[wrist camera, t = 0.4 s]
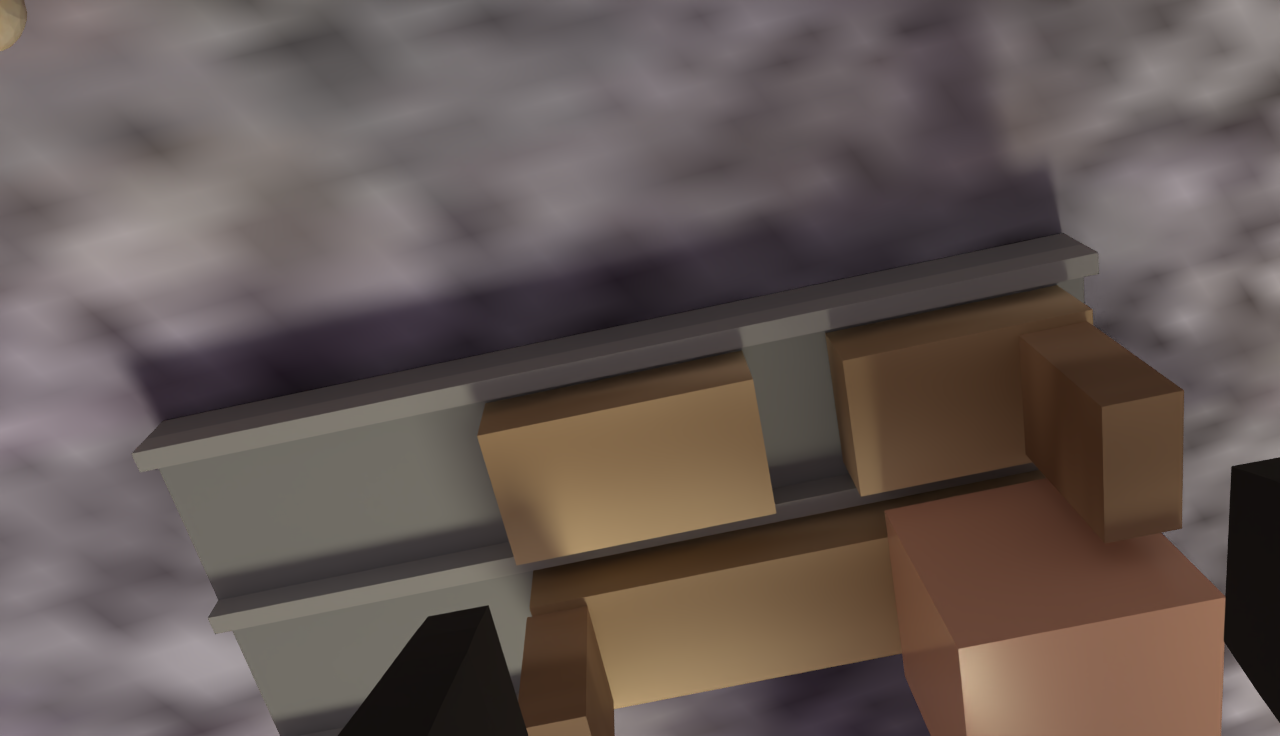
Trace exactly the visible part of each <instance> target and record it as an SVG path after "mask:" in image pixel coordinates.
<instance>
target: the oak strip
mask: <svg viewBox="0 0 1280 736" xmlns="http://www.w3.org/2000/svg"><path fill="white" fill-rule="evenodd" d="M1045 478H1046V477H1045V476H1044V474H1043V473H1042V472H1041V471H1040V470H1035V471H1030V472H1025V473H1020V474H1015V475H1010V476H1005V477H1000V478H995V479H990V480H985V481H980V482H975V483H970V484H965V485H960V486H955V487H950V488H945V489H940V490H935V491H930V492H925V493H920V494H915V495H910V496H905V497H900V498H894V499H889V500H884V501H879V502H874V503H869V504H864V505H859V506H854V507H849V508H844V509H839V510H834V511H829V512H824V513H819V514H814V515H809V516H804V517H799V518H794V519H789V520H784V521H779V522H774V523H769V524H764V525H759V526H754V527H749V528H744V529H739V530H734V531H729V532H724V533H719V534H714V535H709V536H704V537H699V538H694V539H689V540H684V541H679V542H674V543H669V544H664V545H659V546H654V547H649V548H644V549H639V550H634V551H629V552H624V553H619V554H614V555H609V556H604V557H599V558H594V559H589V560H584V561H579V562H574V563H569V564H564V565H559V566H554V567H549V568H544V569H539V570H534V571H533V579H532V588H531V598H530V612H531V615H532V617H527V622H526V631H525V641H524V650H523V659H522V669H521V678H520V688H519V697H518V703H519V706H520V709H521V713H522V716H523V719H524V723H525V726H526V729H527V732H528V736H615V735H614V709H617V708H622V707H627V706H632V705H638V704H643V703H648V702H653V701H658V700H663V699H669V698H674V697H679V696H684V695H689V694H694V693H700V692H705V691H710V690H715V689H720V688H725V687H731V686H736V685H741V684H746V683H751V682H757V681H762V680H767V679H772V678H777V677H782V676H788V675H793V674H798V673H803V672H808V671H813V670H819V669H824V668H829V667H834V666H839V665H844V664H850V663H855V662H860V661H865V660H870V659H876V658H881V657H886V656H891V655H896V654H901V653H902V648H901V640H900V632H899V624H898V616H897V608H896V600H895V592H894V584H893V576H892V568H891V560H890V552H889V544H888V536H887V528H886V520H885V512H884V511H885V510H890V509H895V508H900V507H905V506H910V505H915V504H920V503H925V502H930V501H935V500H940V499H945V498H950V497H955V496H960V495H965V494H970V493H975V492H980V491H985V490H990V489H995V488H1000V487H1005V486H1010V485H1015V484H1020V483H1025V482H1030V481H1035V480H1040V479H1045Z"/></svg>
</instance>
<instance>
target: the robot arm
mask: <svg viewBox="0 0 1280 736" xmlns="http://www.w3.org/2000/svg"><path fill="white" fill-rule="evenodd" d="M1224 642H1225V644H1226V645H1227V647H1228V648H1229V650H1230V651H1231V653H1232V654H1233V656H1234V657H1235V659H1236V660H1237V662H1238V663H1239V665H1240V666H1241V668H1242V669H1243V671H1244V672H1245V674H1246V675H1247V677H1248V678H1249V680H1250V681H1251V683H1252V684H1253V686H1254V687H1255V689H1256V690H1257V692H1258V693H1259V694H1260V696H1261V697H1262V699H1263V700H1264V701H1265V703H1266V704H1267V706H1268V707H1269V708H1270V710H1271V711H1272V713H1273V714H1274V715H1275V717H1276V718H1277V719H1278V721H1279V722H1280V457H1279V458H1274V459H1269V460H1263V461H1258V462H1253V463H1247V464H1242V465H1237V466H1232V468H1231V490H1230V511H1229V533H1228V555H1227V576H1226V598H1225V620H1224ZM338 736H528V732H527V729H526V726H525V723H524V719H523V716H522V713H521V709H520V706H519V703H518V700H517V696H516V693H515V690H514V687H513V683H512V680H511V677H510V673H509V670H508V667H507V664H506V660H505V657H504V654H503V651H502V647H501V644H500V641H499V637H498V634H497V631H496V628H495V624H494V621H493V618H492V614H491V611H490V608H489V605H487V606H481V607H476V608H470V609H465V610H460V611H454V612H449V613H444V614H438V615H433V616H428V617H427V618H426V620H425V621H424V622H423V623H422V625H421V626H420V627H419V628H418V630H417V631H416V632H415V633H414V635H413V636H412V637H411V639H410V640H409V641H408V643H407V644H406V645H405V647H404V648H403V649H402V651H401V652H400V653H399V655H398V656H397V657H396V659H395V660H394V662H393V663H392V664H391V666H390V667H389V668H388V670H387V671H386V672H385V674H384V675H383V676H382V678H381V679H380V680H379V682H378V683H377V684H376V686H375V687H374V688H373V690H372V691H371V692H370V694H369V695H368V696H367V698H366V699H365V700H364V702H363V703H362V704H361V706H360V707H359V708H358V710H357V711H356V712H355V714H354V715H353V716H352V717H351V719H350V720H349V721H348V723H347V724H346V725H345V727H344V728H343V729H342V730H341V732H340V733H339V734H338Z"/></svg>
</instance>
